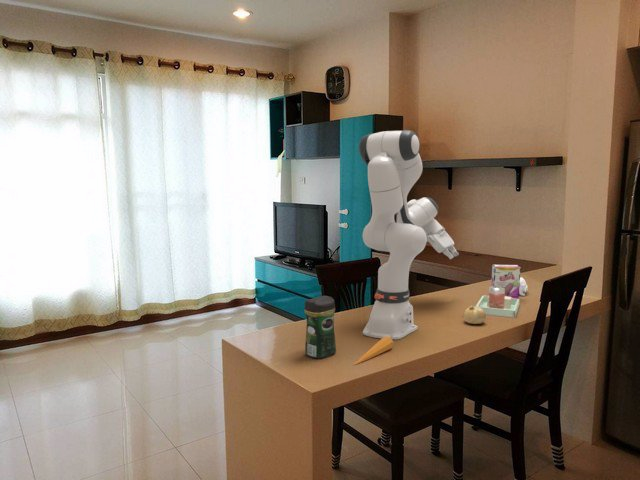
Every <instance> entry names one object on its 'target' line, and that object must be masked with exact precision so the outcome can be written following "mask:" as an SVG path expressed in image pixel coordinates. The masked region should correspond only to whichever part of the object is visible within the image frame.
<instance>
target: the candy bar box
mask: <svg viewBox="0 0 640 480" xmlns="http://www.w3.org/2000/svg"><path fill="white" fill-rule="evenodd" d="M491 266H492V267H491V282H490V283H491V284H490V286H502V287H505V296H508V297H511V298H515V299H520V294H519V286H520V277H521V271H522V270H521V268H522V267H521V266H519V265H518V264H492V265H491Z"/></svg>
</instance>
